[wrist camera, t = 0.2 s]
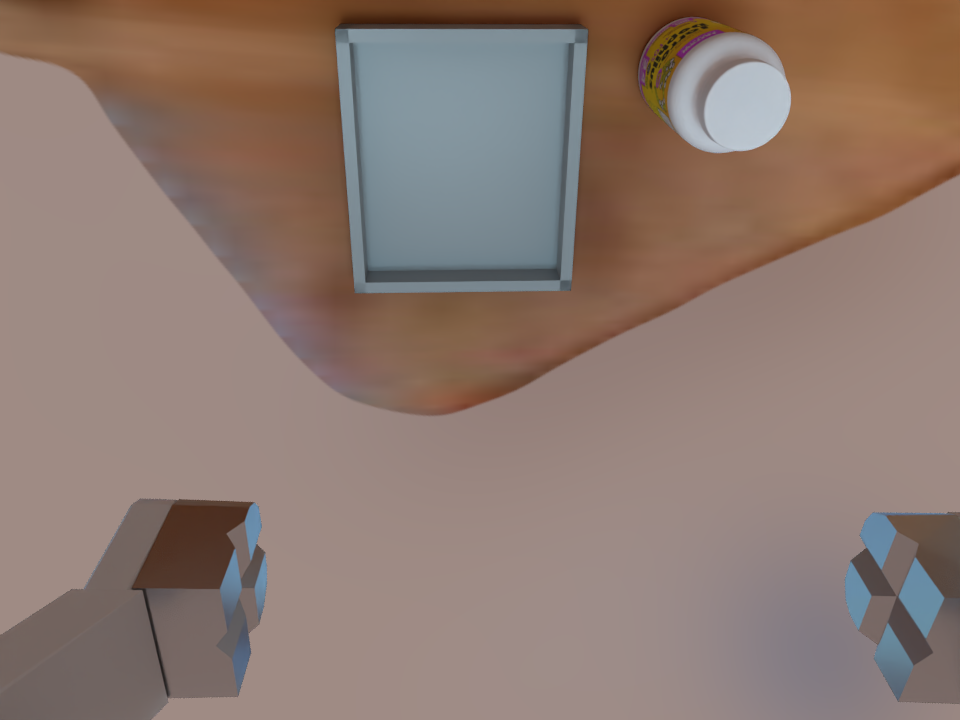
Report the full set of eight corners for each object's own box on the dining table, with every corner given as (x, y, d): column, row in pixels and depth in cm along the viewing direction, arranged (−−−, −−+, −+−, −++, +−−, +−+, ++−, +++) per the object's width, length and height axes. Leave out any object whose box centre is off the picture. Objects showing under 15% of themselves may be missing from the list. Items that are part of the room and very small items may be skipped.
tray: (340, 23, 51) (334, 28, 48) (580, 24, 52) (588, 29, 49) (358, 276, 59) (354, 293, 57) (565, 274, 60) (570, 290, 57)
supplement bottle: (687, -8, 51) (756, 10, 40) (753, 62, 53) (837, 97, 42) (614, 76, 53) (660, 115, 42) (680, 139, 56) (741, 193, 44)
